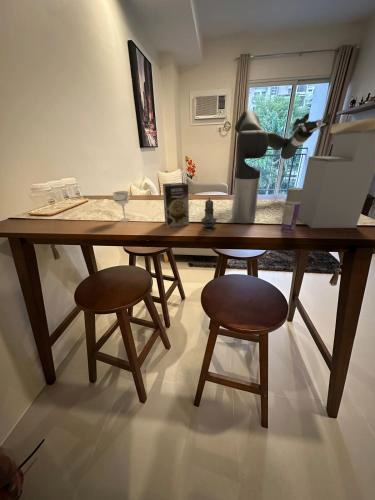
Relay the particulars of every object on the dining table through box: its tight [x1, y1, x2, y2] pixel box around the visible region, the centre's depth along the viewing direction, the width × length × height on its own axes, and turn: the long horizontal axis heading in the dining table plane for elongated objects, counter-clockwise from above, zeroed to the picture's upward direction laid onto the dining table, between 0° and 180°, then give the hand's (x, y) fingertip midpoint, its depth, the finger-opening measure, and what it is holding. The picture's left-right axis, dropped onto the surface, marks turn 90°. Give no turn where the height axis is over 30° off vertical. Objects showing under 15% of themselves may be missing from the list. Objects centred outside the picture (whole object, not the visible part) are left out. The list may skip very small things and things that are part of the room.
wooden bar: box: [329, 117, 375, 134], centre depth 73 cm, size 4×24×3 cm, turn 177°
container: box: [280, 187, 303, 233], centre depth 76 cm, size 5×5×15 cm
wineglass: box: [112, 190, 131, 223], centre depth 93 cm, size 7×7×12 cm
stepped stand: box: [297, 129, 375, 229], centre depth 79 cm, size 16×14×32 cm
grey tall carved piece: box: [201, 197, 218, 232], centre depth 80 cm, size 6×6×12 cm
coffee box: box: [162, 182, 190, 228], centre depth 85 cm, size 9×6×16 cm
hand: (318, 115), depth 90 cm, fingers open, 8 cm apart
